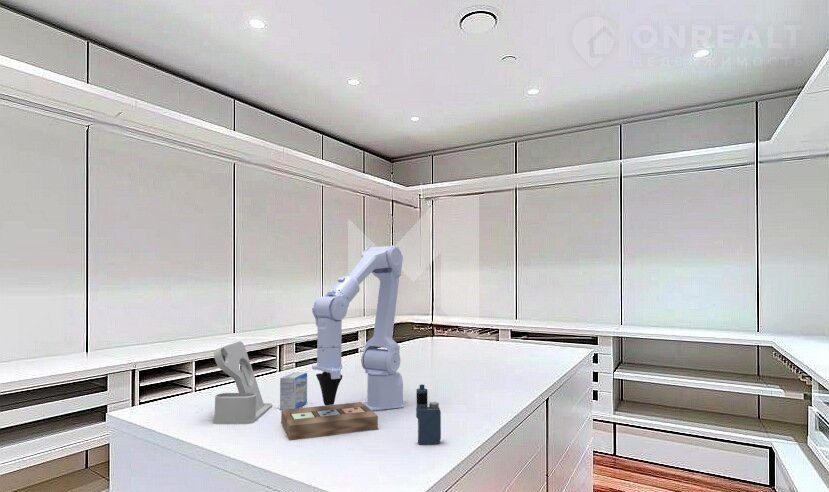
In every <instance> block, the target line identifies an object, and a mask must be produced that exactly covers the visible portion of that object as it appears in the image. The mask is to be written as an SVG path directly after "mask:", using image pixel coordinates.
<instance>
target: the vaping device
mask: <svg viewBox="0 0 829 492" xmlns="http://www.w3.org/2000/svg"><path fill="white" fill-rule="evenodd" d="M428 402H429V401H428V389H427V388H425V384H419V387H418V388H416V408H415V411H416V412H415V413H416V414H415V418H417V444H418V445H423V446H424V445H425V446H427V445H439V444H440V443H441V439H442V438H441V437H442V429H441V428H442V419H441V418H442V416H441V415H442V414H441V413H442V412H441V409H440V406H439V402H436V401H431V402H429V403H428ZM428 404H429V405H428Z"/></svg>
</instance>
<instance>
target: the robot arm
mask: <svg viewBox="0 0 829 492" xmlns="http://www.w3.org/2000/svg"><path fill="white" fill-rule="evenodd" d="M403 258H404V256H403V254H402V251H401V250H400V248H399V247H398V246H397V245H395V244H394V245H390V246H389V245H388V246H386V245H385V246H368V247H366V248H365V249H364V251H362V252H361V259H360V261H359V262H358V263H357V264H356V266H355V267H354V268H353V270H352V271H351V272H350V274H349V275H344V276H340V277H338V279H337V282H336V283H335V284H334V285H333V287H331V289H329V290H328V291H327V293H326V294H325V296H320V297H318V298H317V299H316V300H315V302H314V304H313V307H312V308H311V309H312V310H311V312H312V315H313V317H314V320H315V326H316V327H317V333H316V334H317V341H316V342H317V351H316V353H317V354H316V364H315V365H311V369H312V370H313V371H314V370H315V371H316V370H317V371H320V372H321V373H316V374H315V376H316V378H317V381H318V383H319V386H320V390H321V391H320V392H321V395H322V396H321V397H322V401H323V405H324V406H325V405H335V401H336V397H337V392H338V389H339V386H340V383H341V382H342V379H343V374H341V371H342V369H343V364H342V334H343V333H342V330H343V329H342V328H343V326H342V323H343V321H342V320H343V319H344V318H345V317H346V315H347V313H348V308H349V306H350V303H351V302H352V301H353V300H354V298H355V297H356V296H358V293H359V292H360V290H361V289H360V284H362V283H363V281H364V280H365V279H366V278H367V277H368V276H369V275H371V274H372V275H373V276H374V277H376V278H378V281H379V289H378V297H377V306H376V310H375V311H376V313H375V321H374V328H373V329H374V330H373V334H372V335H373V336H372V337H371V338H370V339H369V340H367V341H365V345H364V349H363V352H362V353H361V358H360V362H361V366H362V369H364V372H365V374H367V387H366V388H367V391H366V392H367V395H366V396H367V397H366V398H367V400H366V401H364V402H362V403H363V404H364V405H365V406H367V407H368V408H369V409H370V410H371V411H373V412H374V411H380V410H381V411H383V410H391V409H400V408H405V405H404V381H403V375H402V374H401V373H400V372H399V371H398V370H399V368H400V367H401V356H400V351H401V350H400V349H401V348H400V347H401V346H400V345H399V344H398V343H397V342H396V341H395V340H394V338H393V335H394V333H393V332H394V327H395V325H394V324H395V320H396V319H395V318H396V308H397V300H398V291H399V283H400V277H401V275H402V269H403V268H402V267H403V261H404V259H403Z"/></svg>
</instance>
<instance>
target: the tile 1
mask: <svg viewBox="0 0 829 492" xmlns="http://www.w3.org/2000/svg"><path fill="white" fill-rule="evenodd" d="M291 417H292V419H293V420H295V419H305V418H314V415H313V414H312V413H311V412H307V413H297V414H291Z"/></svg>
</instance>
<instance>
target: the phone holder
mask: <svg viewBox="0 0 829 492" xmlns="http://www.w3.org/2000/svg"><path fill="white" fill-rule="evenodd" d="M213 357H214V362H215V363H216V366H217V367H218V368H219V369H220V370H221V371H223V372H224V373H225V374H226V375H228V377H230V378H231V379H233V380H234V382H235V385H236V388H237V392H222V393H218V394H216V395H214V419H213V421H212V424H215V425H249V424H250V425H252V424H254V423H255V422H256V421H258V420H259V419H260V418H261V417H263V416H264V415H265V414H266V413H267V412H268V411H269V410H271V409H272V408H273V403H270V402H267V403H265V402H264V400H263V398H262V394H261V390H260V388H259V385H258V382H257V379H256V377H255V376H256V375H255V374H254V370H253V366H252V363H251V361H250V358H249V355H248V351H247V349H246V346H245V344H244V342H243V341H237V342H234V343H231V344H228V345H225V346H221V347H219V348H216V349H215V350H214V352H213Z"/></svg>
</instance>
